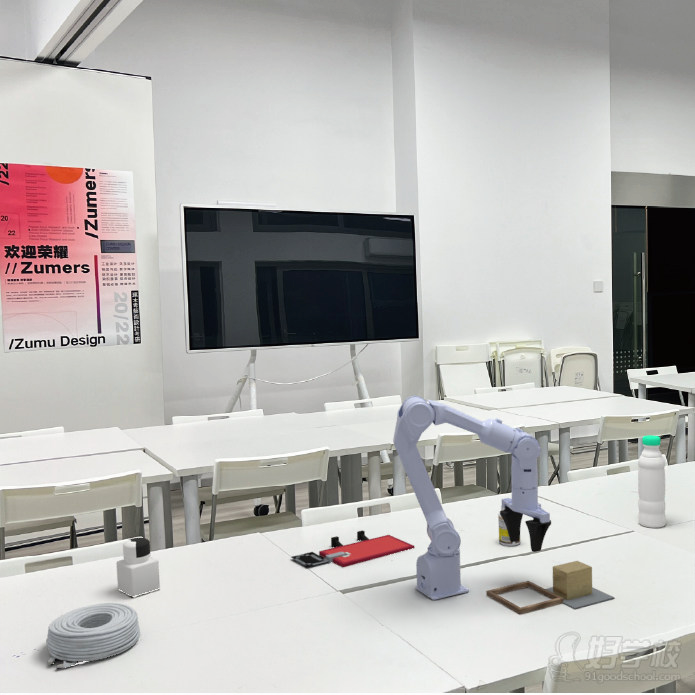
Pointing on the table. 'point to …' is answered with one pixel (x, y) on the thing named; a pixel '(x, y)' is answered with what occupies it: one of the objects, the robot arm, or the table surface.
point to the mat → (586, 599)
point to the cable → (92, 633)
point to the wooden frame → (529, 608)
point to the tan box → (572, 580)
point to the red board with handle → (355, 551)
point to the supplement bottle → (504, 532)
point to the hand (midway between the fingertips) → (525, 545)
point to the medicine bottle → (137, 568)
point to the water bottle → (651, 484)
